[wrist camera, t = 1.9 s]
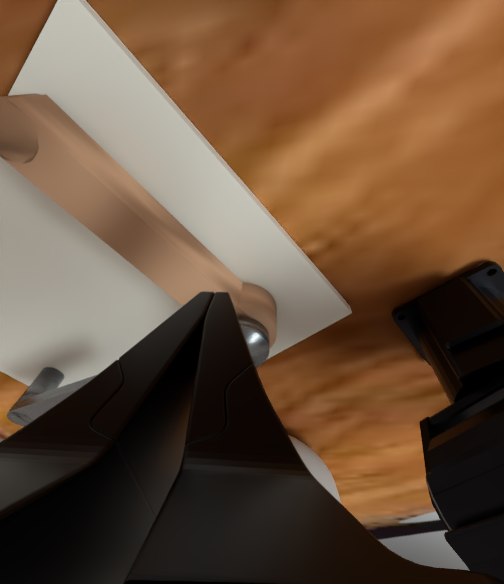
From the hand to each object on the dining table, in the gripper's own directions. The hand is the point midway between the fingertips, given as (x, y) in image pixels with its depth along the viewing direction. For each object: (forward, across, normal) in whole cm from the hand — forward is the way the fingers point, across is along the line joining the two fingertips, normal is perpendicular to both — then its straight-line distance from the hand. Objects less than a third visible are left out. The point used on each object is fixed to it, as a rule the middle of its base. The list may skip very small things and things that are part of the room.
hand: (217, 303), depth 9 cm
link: (+8, +4, +2) cm, 10 cm away
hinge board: (+9, +10, +8) cm, 16 cm away
